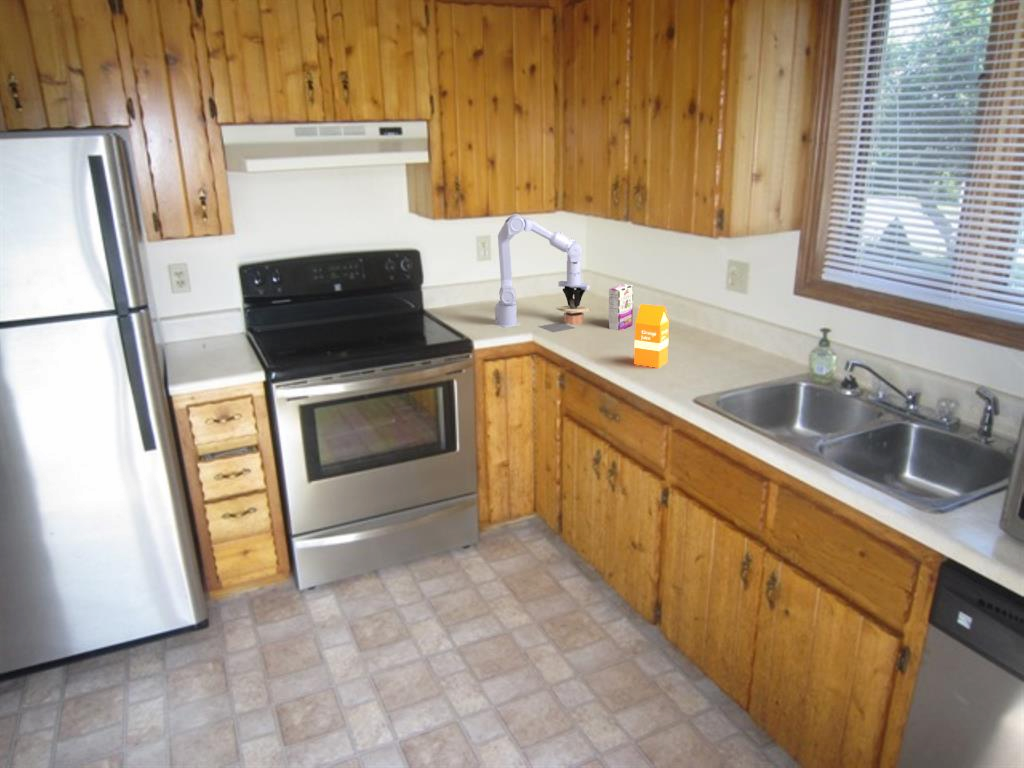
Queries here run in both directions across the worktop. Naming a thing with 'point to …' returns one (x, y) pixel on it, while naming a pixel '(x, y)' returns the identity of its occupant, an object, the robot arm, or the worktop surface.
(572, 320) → the bowl
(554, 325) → the mat
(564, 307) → the lid
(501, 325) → the robot arm
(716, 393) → the worktop surface
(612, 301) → the candy bar box
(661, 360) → the orange juice
